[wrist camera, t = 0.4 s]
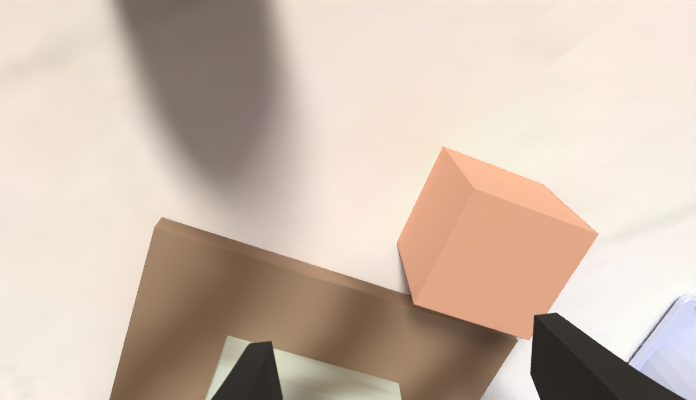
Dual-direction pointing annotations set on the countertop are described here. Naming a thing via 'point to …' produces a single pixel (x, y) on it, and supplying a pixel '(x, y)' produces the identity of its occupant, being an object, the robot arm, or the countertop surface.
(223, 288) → the walnut base board
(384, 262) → the countertop surface
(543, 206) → the terracotta cube
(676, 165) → the countertop surface
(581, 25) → the countertop surface
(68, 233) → the countertop surface
